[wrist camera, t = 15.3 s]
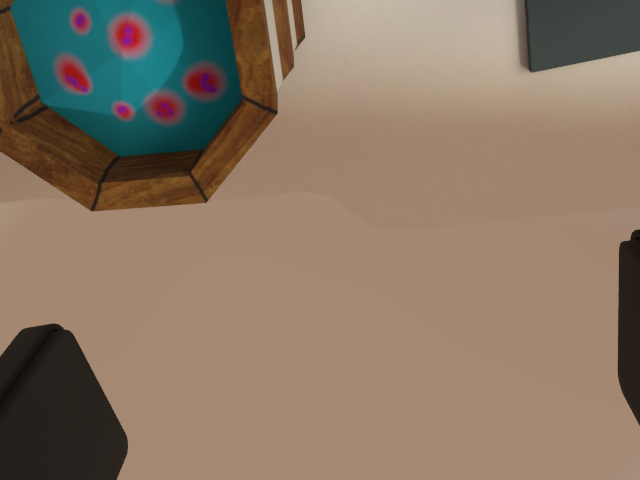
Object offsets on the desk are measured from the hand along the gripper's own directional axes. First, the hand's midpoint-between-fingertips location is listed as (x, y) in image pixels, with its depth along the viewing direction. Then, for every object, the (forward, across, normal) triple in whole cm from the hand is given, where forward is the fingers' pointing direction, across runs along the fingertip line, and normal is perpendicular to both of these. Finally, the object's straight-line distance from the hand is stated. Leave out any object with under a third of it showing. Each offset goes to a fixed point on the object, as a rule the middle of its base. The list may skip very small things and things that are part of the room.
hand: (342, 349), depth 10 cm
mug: (+31, +6, -4) cm, 31 cm away
